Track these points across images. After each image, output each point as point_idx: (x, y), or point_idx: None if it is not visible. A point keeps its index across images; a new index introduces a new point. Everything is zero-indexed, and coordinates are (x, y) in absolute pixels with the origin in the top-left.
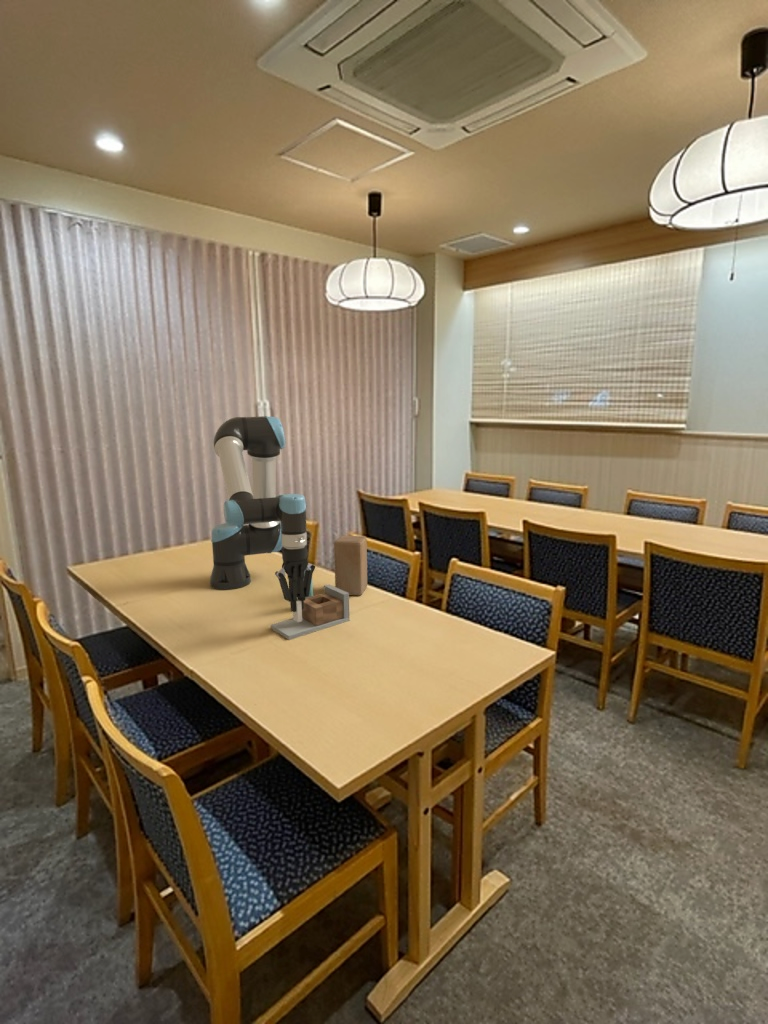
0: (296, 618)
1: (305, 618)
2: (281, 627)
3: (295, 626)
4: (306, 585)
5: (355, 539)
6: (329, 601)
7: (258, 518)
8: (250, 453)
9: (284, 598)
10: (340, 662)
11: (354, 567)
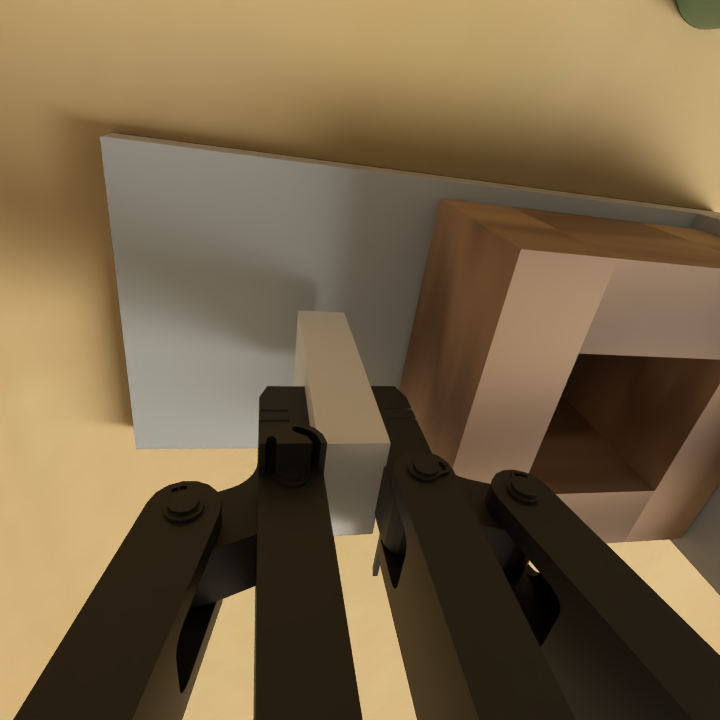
0: (295, 378)
1: (420, 308)
2: (165, 282)
3: (277, 344)
4: (577, 710)
5: None
6: (627, 495)
7: None
8: None
9: (147, 512)
10: (226, 694)
11: None
